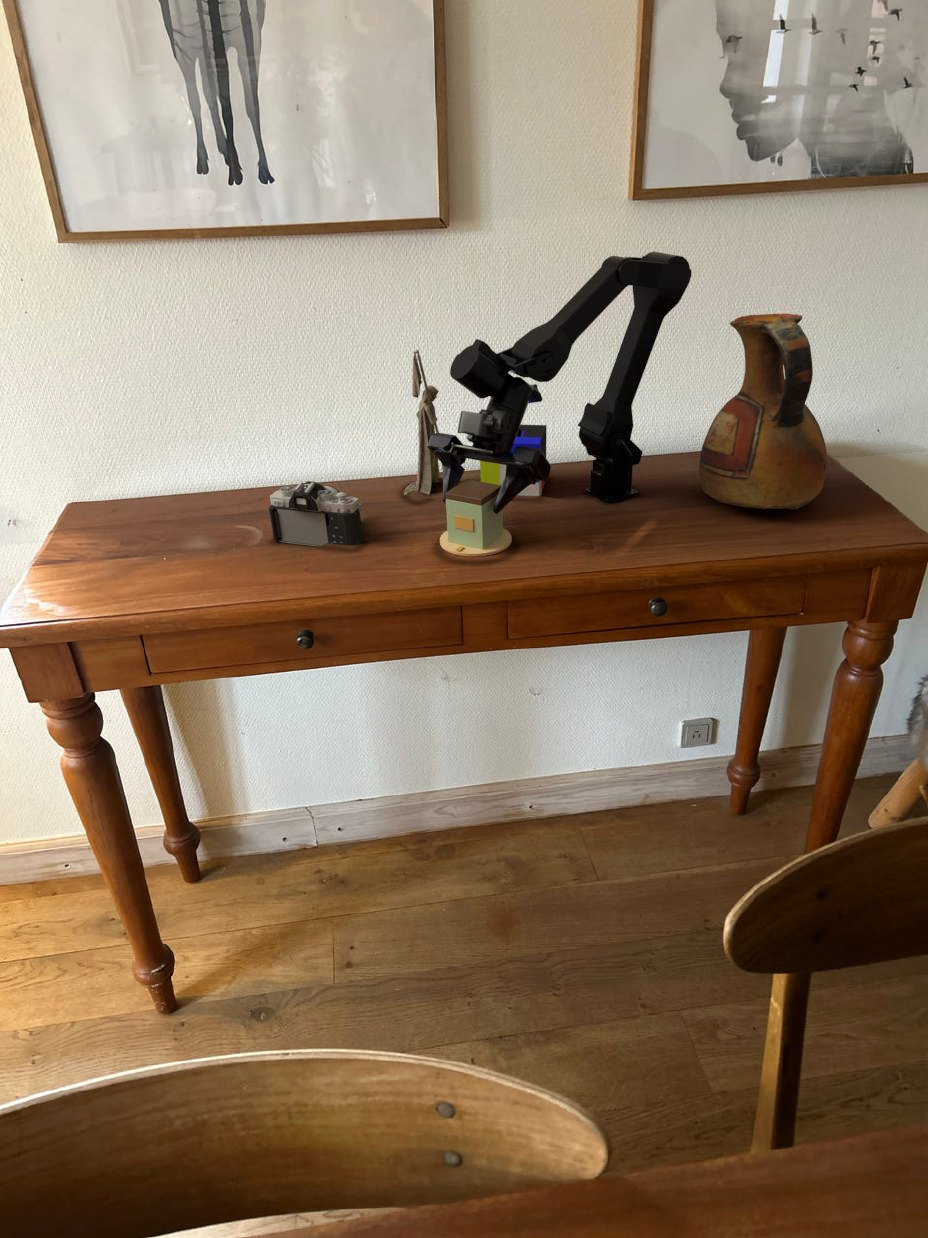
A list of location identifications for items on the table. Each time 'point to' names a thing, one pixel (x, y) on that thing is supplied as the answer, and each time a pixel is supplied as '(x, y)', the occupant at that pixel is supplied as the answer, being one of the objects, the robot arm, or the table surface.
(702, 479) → the ceramic pitcher
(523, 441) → the puzzle toy
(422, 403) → the wizard figurine
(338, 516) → the camera
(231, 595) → the table surface
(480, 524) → the box
